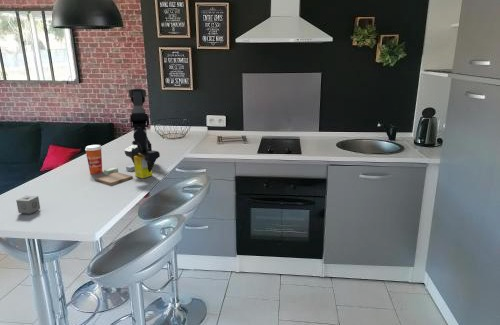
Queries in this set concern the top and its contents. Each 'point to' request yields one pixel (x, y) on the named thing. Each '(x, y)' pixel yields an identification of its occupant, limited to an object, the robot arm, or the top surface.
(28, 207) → the dice cube
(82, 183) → the top surface
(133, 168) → the slate brick
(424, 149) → the top surface
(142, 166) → the supplement box
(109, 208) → the top surface
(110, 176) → the walnut board
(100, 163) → the paper cup
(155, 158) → the robot arm
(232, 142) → the top surface
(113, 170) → the sage brick
